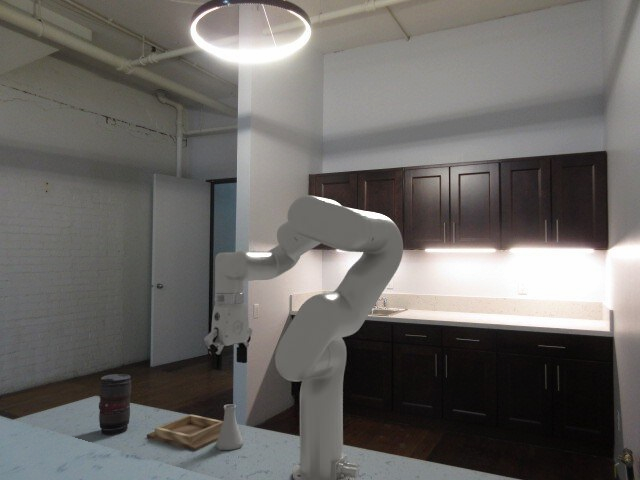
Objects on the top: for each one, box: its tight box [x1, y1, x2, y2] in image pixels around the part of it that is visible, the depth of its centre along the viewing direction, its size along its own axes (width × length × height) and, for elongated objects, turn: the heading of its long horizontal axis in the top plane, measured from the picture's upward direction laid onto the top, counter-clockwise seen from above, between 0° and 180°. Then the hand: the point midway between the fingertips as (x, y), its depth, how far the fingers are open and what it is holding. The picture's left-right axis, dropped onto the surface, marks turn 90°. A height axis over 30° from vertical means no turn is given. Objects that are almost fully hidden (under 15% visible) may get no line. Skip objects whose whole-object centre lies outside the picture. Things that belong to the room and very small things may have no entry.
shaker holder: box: [146, 413, 224, 452], centre depth 125 cm, size 18×14×3 cm
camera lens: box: [98, 373, 132, 436], centre depth 129 cm, size 8×8×15 cm
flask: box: [214, 403, 245, 451], centre depth 118 cm, size 7×7×10 cm
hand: (229, 366), depth 119 cm, fingers open, 9 cm apart
